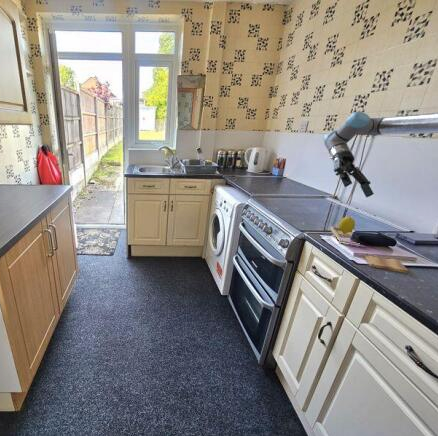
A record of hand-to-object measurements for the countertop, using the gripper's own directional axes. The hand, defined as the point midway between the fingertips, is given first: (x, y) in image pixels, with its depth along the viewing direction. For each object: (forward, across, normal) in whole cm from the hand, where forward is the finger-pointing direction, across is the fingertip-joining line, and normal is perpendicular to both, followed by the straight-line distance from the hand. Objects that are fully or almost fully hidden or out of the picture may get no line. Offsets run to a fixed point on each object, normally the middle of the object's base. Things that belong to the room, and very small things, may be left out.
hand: (359, 190), depth 104 cm
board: (+34, +2, -3) cm, 34 cm away
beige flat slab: (+15, -4, -14) cm, 21 cm away
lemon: (+12, -6, -15) cm, 20 cm away
